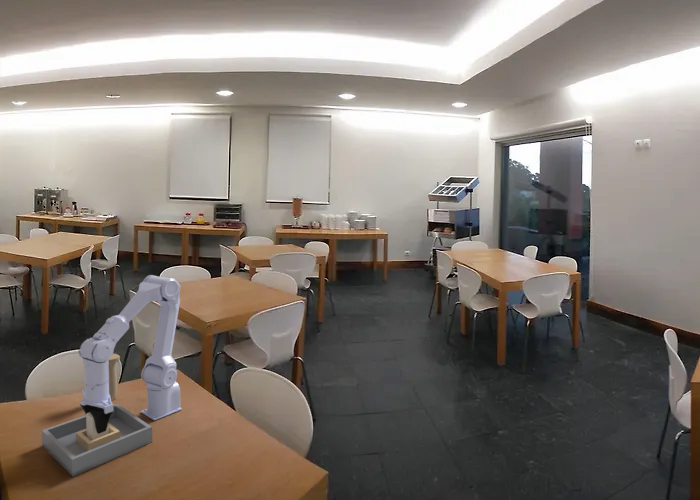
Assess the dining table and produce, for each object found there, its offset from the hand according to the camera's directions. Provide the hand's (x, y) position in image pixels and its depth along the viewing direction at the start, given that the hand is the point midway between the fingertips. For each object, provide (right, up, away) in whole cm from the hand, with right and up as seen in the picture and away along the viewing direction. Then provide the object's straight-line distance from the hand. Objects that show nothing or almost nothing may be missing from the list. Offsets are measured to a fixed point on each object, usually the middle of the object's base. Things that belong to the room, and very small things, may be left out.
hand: (97, 428), depth 116 cm
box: (0, -4, +1) cm, 4 cm away
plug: (0, -2, 0) cm, 2 cm away
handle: (-11, -1, +26) cm, 28 cm away
